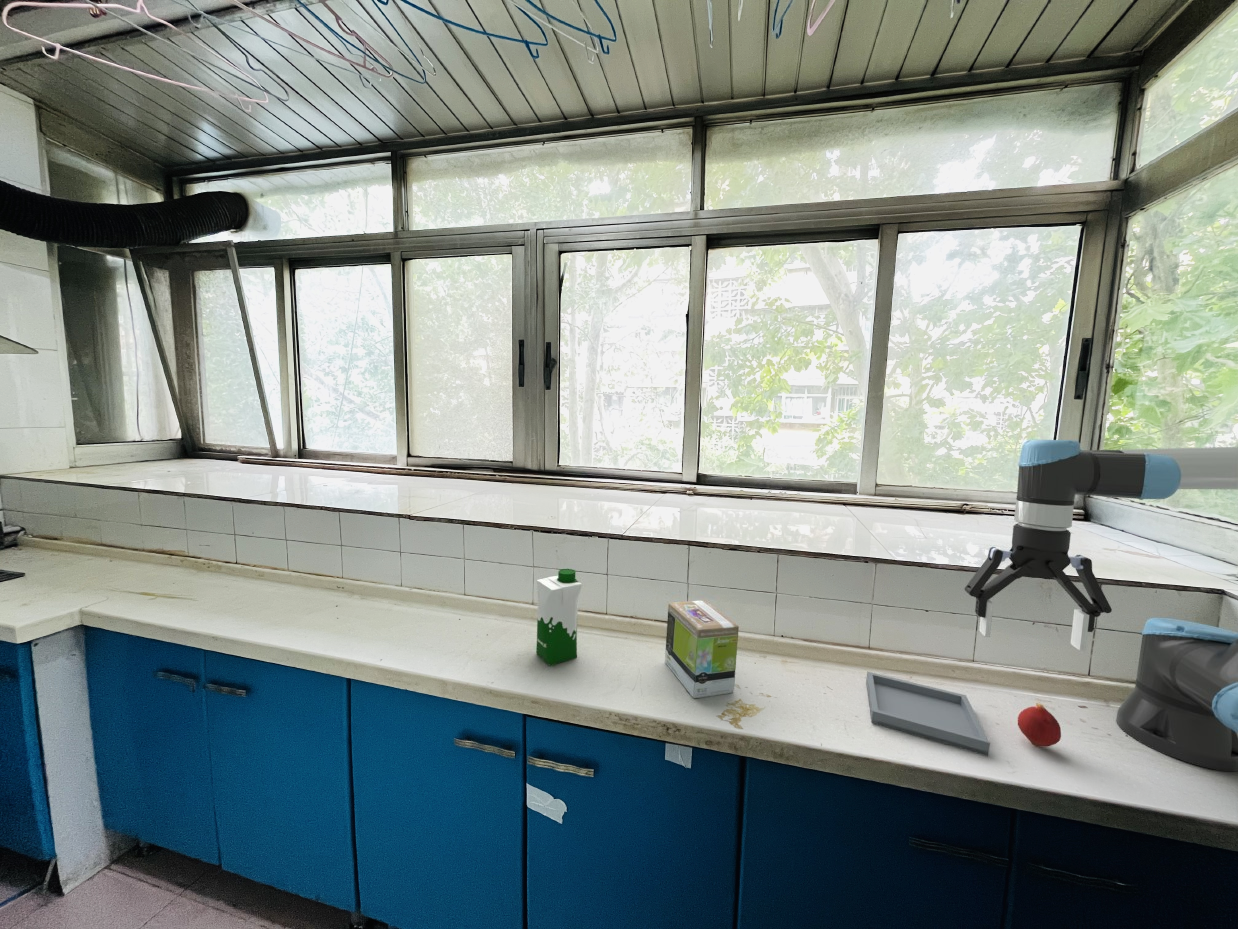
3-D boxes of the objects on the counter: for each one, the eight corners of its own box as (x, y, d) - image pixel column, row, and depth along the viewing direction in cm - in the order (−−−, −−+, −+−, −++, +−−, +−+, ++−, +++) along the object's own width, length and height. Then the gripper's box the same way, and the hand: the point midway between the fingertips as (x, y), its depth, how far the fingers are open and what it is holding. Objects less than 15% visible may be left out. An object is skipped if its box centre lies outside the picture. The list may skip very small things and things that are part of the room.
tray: (964, 706, 94) (965, 695, 93) (988, 756, 79) (990, 743, 79) (866, 682, 101) (867, 671, 101) (871, 723, 87) (872, 711, 87)
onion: (1057, 745, 83) (1063, 704, 82) (1059, 762, 79) (1065, 719, 78) (1015, 730, 87) (1020, 691, 86) (1014, 745, 82) (1020, 704, 82)
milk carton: (582, 658, 106) (585, 575, 104) (547, 669, 101) (550, 582, 99) (563, 642, 113) (566, 564, 111) (530, 652, 108) (532, 570, 106)
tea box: (735, 693, 95) (740, 625, 94) (692, 700, 92) (697, 630, 90) (701, 657, 109) (705, 598, 108) (663, 662, 106) (666, 601, 105)
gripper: (1118, 528, 80) (1105, 644, 82) (951, 516, 88) (942, 621, 90) (1151, 538, 73) (1135, 664, 75) (965, 523, 81) (955, 637, 83)
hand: (1029, 641), depth 82 cm, fingers open, 13 cm apart
